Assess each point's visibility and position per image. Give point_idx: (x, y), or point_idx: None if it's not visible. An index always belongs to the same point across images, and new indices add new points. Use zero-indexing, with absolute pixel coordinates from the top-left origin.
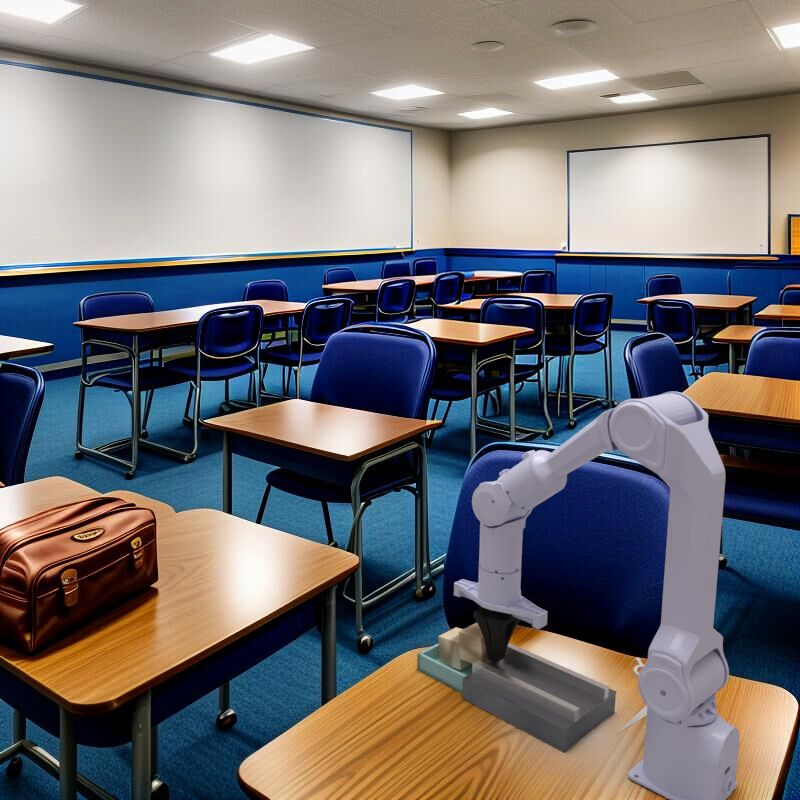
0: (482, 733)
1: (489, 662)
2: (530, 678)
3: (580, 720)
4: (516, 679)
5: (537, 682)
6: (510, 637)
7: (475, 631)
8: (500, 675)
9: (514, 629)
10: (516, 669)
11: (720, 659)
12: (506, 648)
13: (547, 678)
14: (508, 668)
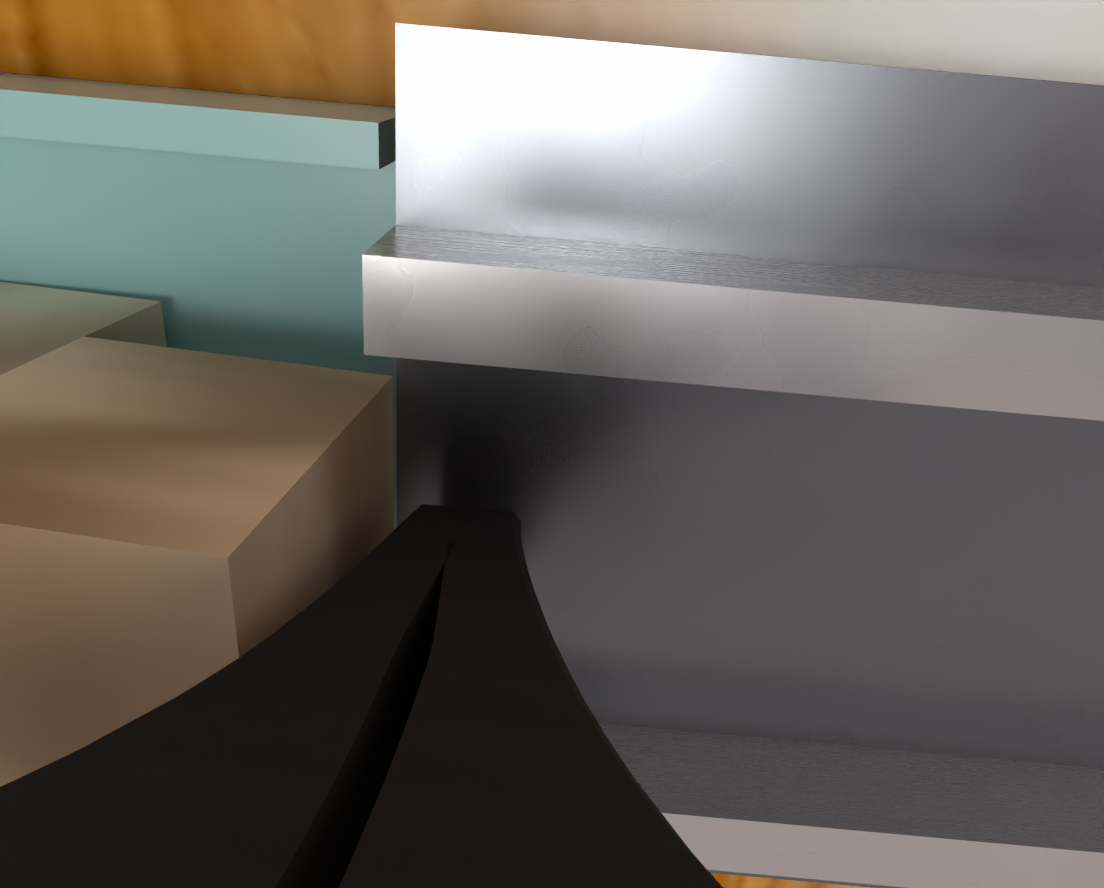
0: (735, 879)
1: (239, 214)
2: (888, 540)
3: None
4: (882, 850)
5: (980, 562)
6: (563, 664)
7: (34, 751)
8: (716, 866)
9: (624, 765)
10: (688, 489)
11: None
12: (524, 565)
13: (1057, 441)
14: (612, 524)
